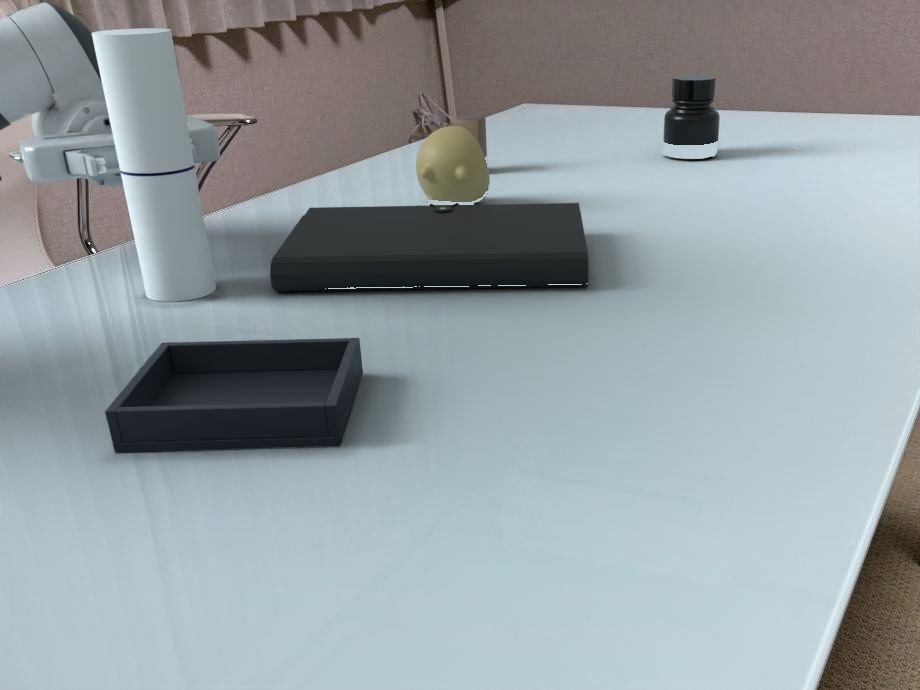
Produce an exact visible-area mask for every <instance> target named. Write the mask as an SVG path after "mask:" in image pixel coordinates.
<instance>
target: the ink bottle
mask: <svg viewBox="0 0 920 690" xmlns="http://www.w3.org/2000/svg"><path fill="white" fill-rule="evenodd" d="M716 79H717V77H716V76H712V75H702V74H684V75H676V76H673V77H672V83H671V85H672V86H671V102H672V104H674V105H671V106H670V109H669V110H667V111H666V112H665V114H664V120H663V140H662V142H663V141H664V142H665V143H668V144H673V145H704V144H710V143H714V142H716V141H718V142H719V133H720V113H719V112H718V110H717V109H715V106H713V105H712V104H713V103H714V102H715V97H716V96H715V95H716V82H717V81H716Z"/></svg>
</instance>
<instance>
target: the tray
mask: <svg viewBox="0 0 920 690" xmlns="http://www.w3.org/2000/svg"><path fill="white" fill-rule="evenodd" d="M363 376H364V369H363V358H362V350H361V340H360V337H334V338H332V337H331V338H329V337H328V338H297V339H296V338H295V339H293V338H292V339H257V340H255V339H253V340H252V339H251V340H216V341H215V340H213V341H211V340H210V341H208V340H207V341H175V342H174V341H172V342H171V341H170V342H161V343H160V344H159V345H158V346H157V348H156V349H155V350H154V351H153V353H152V354H150V356H149V357H148V359H146V361H145V362H144V363H143V364H142V366H141V367H140V368H139V370H138V371H137V372H136V373H135V374H134V375H133V376H132V378H131V379H130V380H129V381H128V383H127V384H126V385H125V386H124V388H123V389H122V390H121V391H120V393H119V394H118V395H117V396H116V398H115V399H114V400H113V401H112V402H111V403H110V405H109V406H108V407H107V408H106V410H105V411H104V413H105V417H106V423H107V426H108V430H109V434H110V438H111V442H112V446H113V451H114V453H143V452H145V453H146V452H148V453H149V452H175V451H176V452H180V451H181V452H183V451H217V450H218V451H220V450H221V451H222V450H223V451H224V450H256V449H261V450H262V449H293V448H296V449H297V448H332V447H334V448H336V447H341V446H342V443H343V440H344V437H345V433H346V430H347V426H348V424H349V421H350V418H351V414H352V411H353V407H354V405H355V401H356V399H357V395H358V391H359V388H360V386H361V383H362V379H363Z"/></svg>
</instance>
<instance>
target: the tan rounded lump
mask: <svg viewBox="0 0 920 690" xmlns="http://www.w3.org/2000/svg"><path fill="white" fill-rule="evenodd" d="M415 171H416V177H417V180H418V183H419V185H420V188H421V190H422V192H424V195H425V196H426V200H427V199H428V200H438V201H451V202H472V201H475V200H477V199H479V198H481V197H483V195H484V194H485V192H486V191H488V192H489V186H490V180H491V179H490V178H491V177H490V171H489V167H488V162H487V163H486V160H485V157H484V154H483V151H482V149H481V147H480V145H479V143H478V141H477V140H476V138H475V137H474V136H473V134H472V133H471V132H470V131H468V130H467V129H466V128H464V127H460V126H455V125H448V126H443V127H440V128H438V129H436V130H435V131H432V132H431V133H430V134H429V135H427V137H426V138H425V139H424V140H423V142H422V143H421V144H420V147H419V150H418V152H417V155H416V161H415Z"/></svg>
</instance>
